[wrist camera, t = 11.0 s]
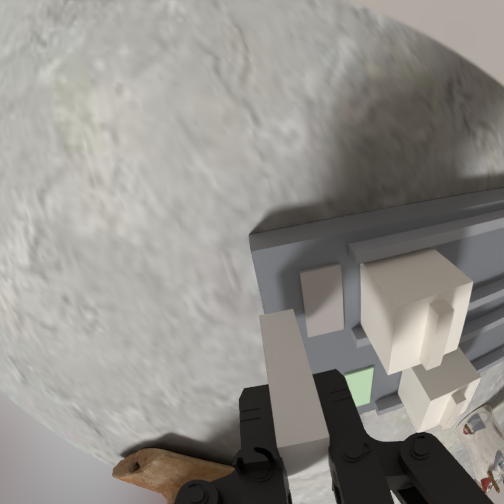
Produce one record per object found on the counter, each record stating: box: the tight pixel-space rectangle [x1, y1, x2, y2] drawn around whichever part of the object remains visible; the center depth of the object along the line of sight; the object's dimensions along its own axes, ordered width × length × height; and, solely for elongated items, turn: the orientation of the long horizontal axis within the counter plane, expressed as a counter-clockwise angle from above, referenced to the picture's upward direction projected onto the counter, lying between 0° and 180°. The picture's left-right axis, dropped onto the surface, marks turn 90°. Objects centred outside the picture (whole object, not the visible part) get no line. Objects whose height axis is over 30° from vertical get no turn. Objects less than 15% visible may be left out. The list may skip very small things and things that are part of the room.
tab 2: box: [398, 347, 481, 433], centre depth 16 cm, size 4×4×5 cm
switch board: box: [249, 188, 504, 415], centre depth 17 cm, size 24×15×3 cm, turn 101°
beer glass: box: [455, 405, 504, 504], centre depth 21 cm, size 7×7×15 cm
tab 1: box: [360, 247, 473, 375], centre depth 13 cm, size 4×4×5 cm
